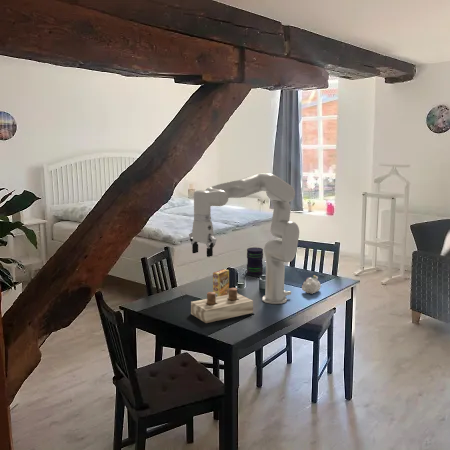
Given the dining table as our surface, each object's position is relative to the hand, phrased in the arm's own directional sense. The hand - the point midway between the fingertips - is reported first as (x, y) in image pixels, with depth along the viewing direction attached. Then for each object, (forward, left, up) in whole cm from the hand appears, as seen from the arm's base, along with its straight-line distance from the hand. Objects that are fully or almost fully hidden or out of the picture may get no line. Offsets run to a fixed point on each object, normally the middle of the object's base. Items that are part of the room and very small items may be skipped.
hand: (202, 254), depth 237 cm
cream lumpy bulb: (-68, 0, -30) cm, 74 cm away
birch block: (-10, +2, -30) cm, 31 cm away
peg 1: (-4, +2, -25) cm, 25 cm away
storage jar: (-65, -48, -30) cm, 86 cm away
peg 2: (-16, +2, -25) cm, 29 cm away
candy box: (-20, -15, -30) cm, 39 cm away
